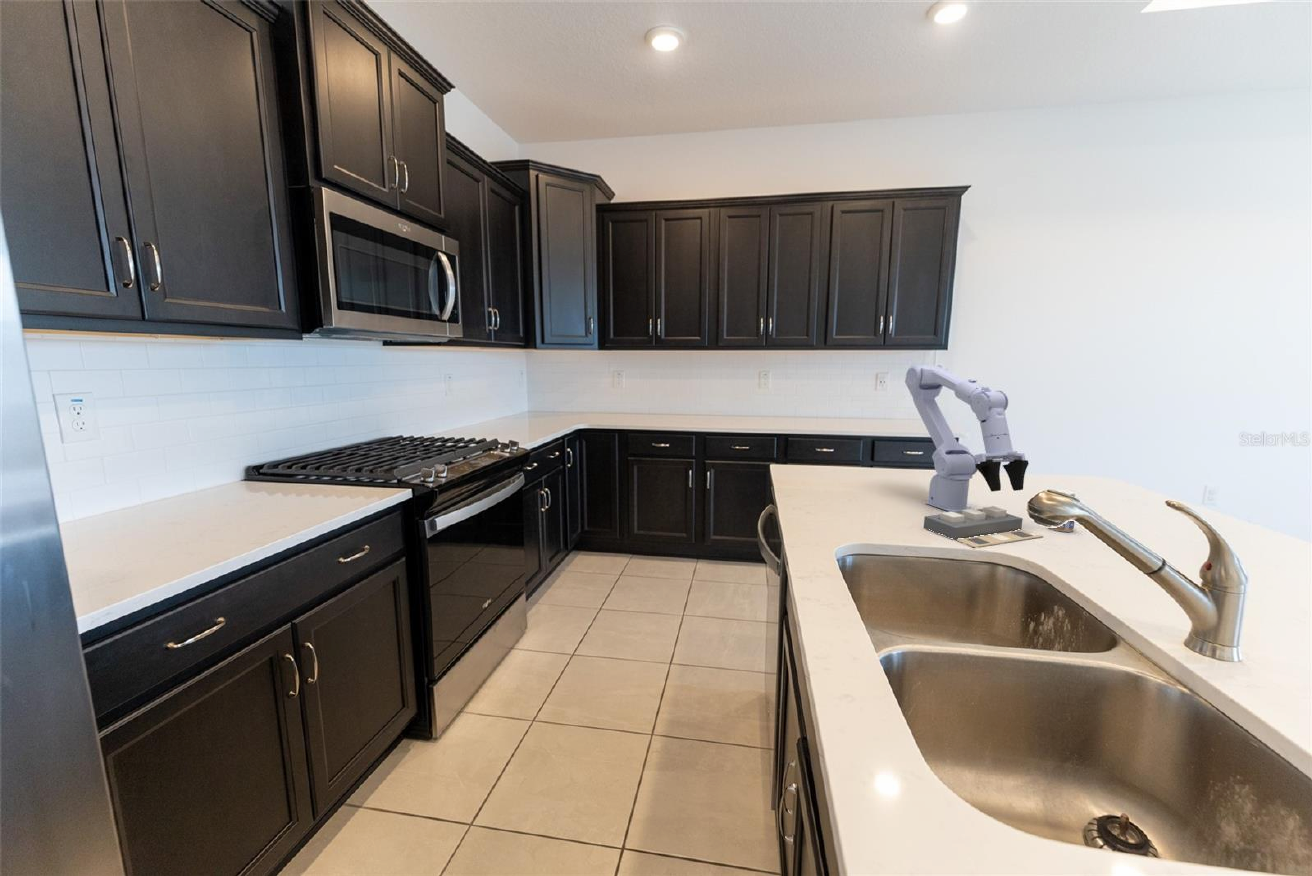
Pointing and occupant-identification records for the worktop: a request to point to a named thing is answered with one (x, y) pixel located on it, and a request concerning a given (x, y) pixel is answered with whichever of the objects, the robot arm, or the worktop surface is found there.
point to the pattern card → (998, 538)
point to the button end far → (994, 512)
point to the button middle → (974, 514)
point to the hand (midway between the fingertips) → (1007, 490)
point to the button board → (973, 526)
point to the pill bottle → (1070, 524)
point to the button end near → (952, 517)
